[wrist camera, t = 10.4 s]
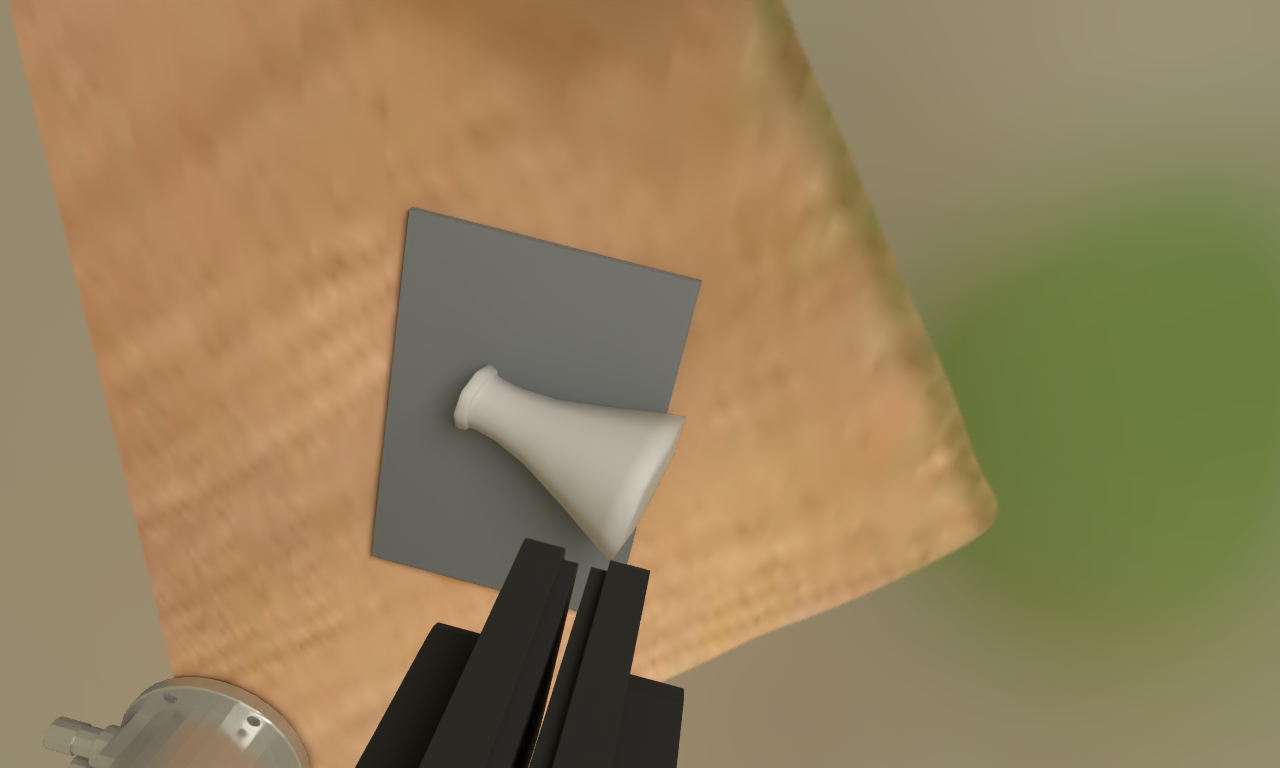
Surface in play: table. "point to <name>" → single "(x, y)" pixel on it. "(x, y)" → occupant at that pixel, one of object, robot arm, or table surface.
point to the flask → (577, 451)
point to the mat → (523, 355)
